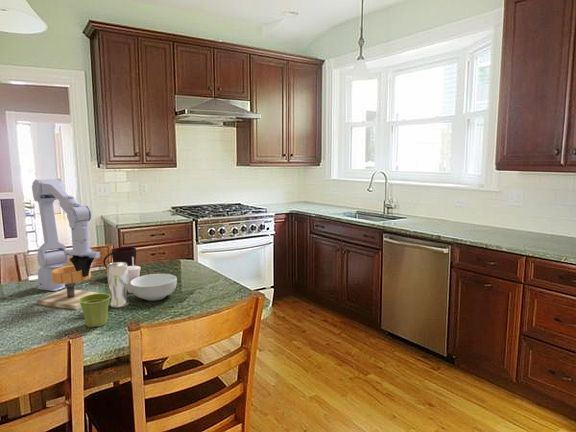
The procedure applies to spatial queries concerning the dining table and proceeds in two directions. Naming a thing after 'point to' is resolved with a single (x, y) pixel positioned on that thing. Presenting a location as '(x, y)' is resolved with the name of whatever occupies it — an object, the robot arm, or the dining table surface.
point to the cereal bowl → (153, 286)
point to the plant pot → (95, 309)
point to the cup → (122, 255)
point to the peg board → (65, 298)
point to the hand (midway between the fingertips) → (83, 275)
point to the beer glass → (118, 283)
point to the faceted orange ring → (68, 275)
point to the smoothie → (132, 274)
